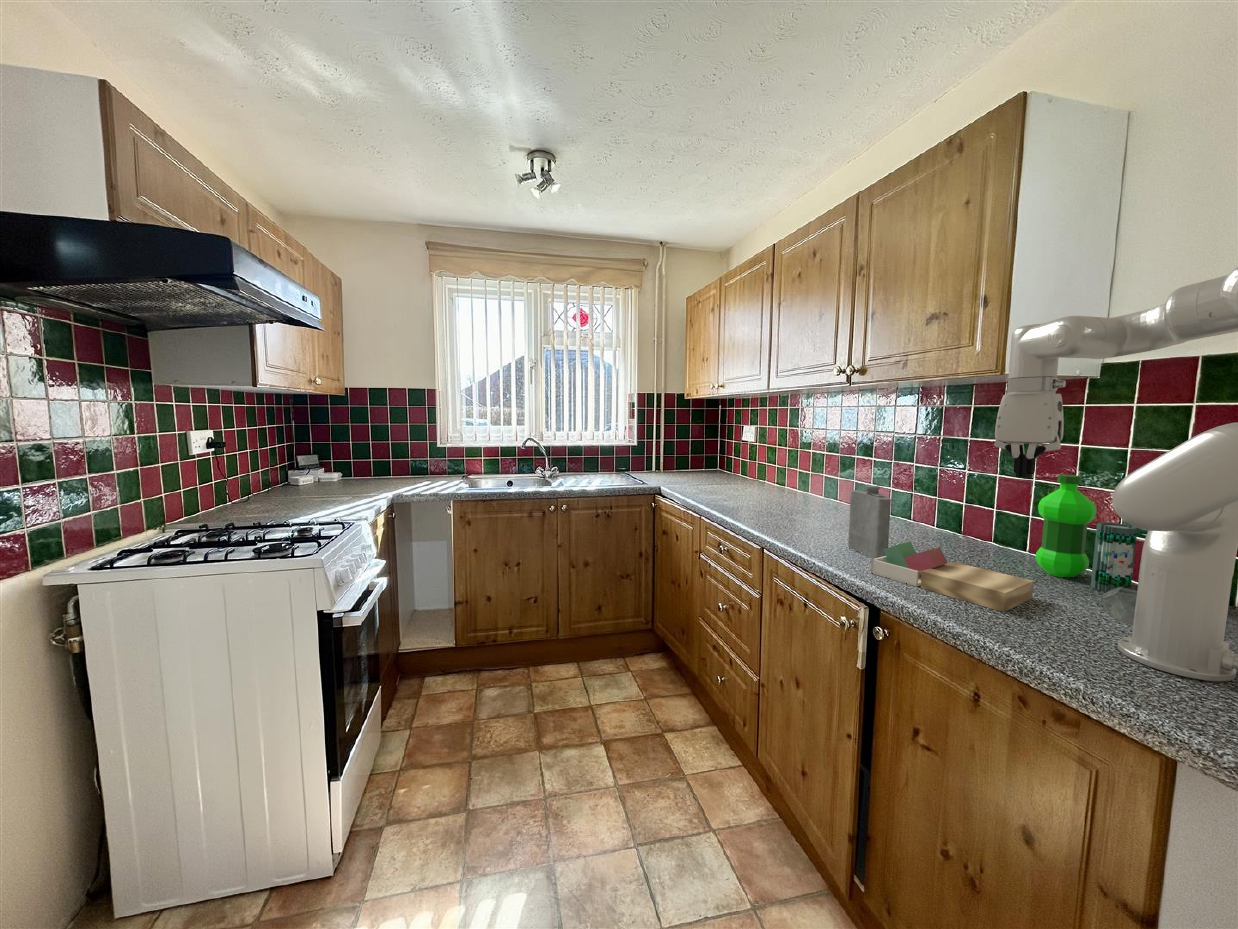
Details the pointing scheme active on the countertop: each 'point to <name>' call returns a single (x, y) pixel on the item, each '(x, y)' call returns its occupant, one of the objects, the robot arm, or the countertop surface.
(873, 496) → the hip flask
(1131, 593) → the stone
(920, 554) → the pink toy cube
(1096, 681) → the countertop surface
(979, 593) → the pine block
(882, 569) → the tray
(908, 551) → the green block
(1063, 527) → the plastic bottle
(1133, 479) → the robot arm
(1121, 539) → the green printed upright box
